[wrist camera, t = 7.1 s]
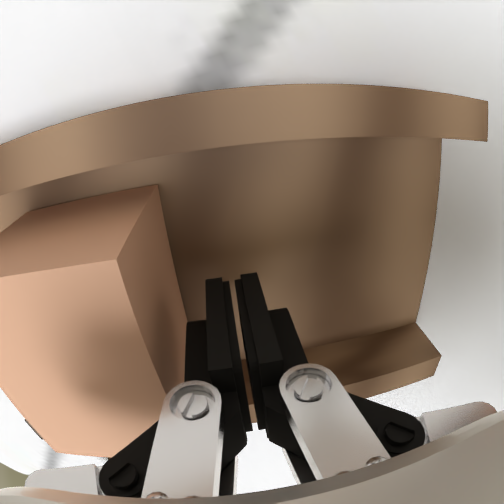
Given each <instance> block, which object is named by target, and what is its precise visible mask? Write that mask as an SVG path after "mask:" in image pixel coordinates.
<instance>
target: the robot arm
mask: <svg viewBox="0 0 504 504" xmlns="http://www.w3.org/2000/svg"><path fill="white" fill-rule="evenodd" d="M240 278H241V279H237V280H234V281H235V289H236V296H237V303H238V310H239V318H240V325H241V332H242V338H243V345H244V351H245V357H246V363H247V369H248V374H249V380H250V385H251V391H252V397H253V402H254V408H255V413H256V418H257V424H258V429H259V430H261V429H266V433H267V438H269V441H271V442H273V443H275V444H276V445H278V446H280V447H282V450H283V453H284V456H285V458H286V460H287V462H288V465H289V467H290V469H291V471H292V474H293V476H294V478H295V480H296V482H297V485H294V486H289V487H284V488H278V489H272V490H266V491H259V492H252V493H245V494H236V491H237V470H238V456H237V454H238V453H239V452H240V451H241V450H242V449H243V448H244V447H245V446H246V445H247V436H246V432H248V431H253V428H252V423H251V417H250V411H249V405H248V399H247V393H246V387H245V381H244V374H243V368H242V362H241V356H240V349H239V343H238V336H237V330H236V324H235V317H234V310H233V304H232V297H231V290H230V284H229V281H223V280H222V277H219V278H212V279H206V280H205V292H206V319H205V320H197V321H189V322H187V324H186V344H185V374H184V383H181V384H178V385H177V386H175V387H174V388H172V389H171V390H170V391H169V392H168V393H167V395H166V397H165V399H164V402H163V406H162V410H161V414H160V418H159V420H158V421H157V422H156V423H155V424H153V425H152V426H151V427H150V428H148V429H147V430H146V431H145V432H143V433H142V434H141V435H140V436H138V437H137V438H136V439H135V440H133V441H132V442H131V443H130V444H128V445H127V446H126V447H125V448H123V449H122V450H121V451H119V452H118V453H117V454H116V455H114V456H113V457H112V458H110V459H109V460H108V461H107V462H106V463H105V464H104V465H103V466H99V467H97V466H96V465H95V464H90V465H83V466H75V467H65V468H54V469H41V470H37V471H34V472H33V473H31V474H30V475H29V476H28V478H27V480H26V482H25V487H11V488H3V489H0V504H504V410H503V411H499V412H497V411H496V410H495V408H494V407H493V406H491V405H490V404H488V403H485V402H473V403H469V404H465V405H461V406H456V407H451V408H446V409H441V410H436V411H431V412H425V413H422V415H421V416H420V417H414V416H412V415H410V414H408V413H405V412H402V411H399V410H396V409H393V408H390V407H387V406H384V405H381V404H378V403H376V402H373V401H370V400H367V399H365V398H362V397H359V396H356V395H354V394H351V393H348V392H346V390H345V389H344V387H343V386H342V384H341V383H340V381H339V380H338V379H337V377H336V376H335V374H334V373H333V372H332V371H331V370H330V369H328V368H326V367H324V366H322V365H318V364H309V363H308V360H307V358H306V355H305V352H304V350H303V347H302V344H301V342H300V339H299V337H298V334H297V331H296V329H295V326H294V323H293V321H292V318H291V316H290V313H289V311H288V309H287V308H280V309H274V310H268V308H267V304H266V301H265V297H264V294H263V291H262V287H261V284H260V281H259V277H258V274H257V272H255V273H248V274H241V275H240Z"/></svg>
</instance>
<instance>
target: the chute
mask: <svg viewBox="0 0 504 504" xmlns="http://www.w3.org/2000/svg"><path fill="white" fill-rule="evenodd" d="M487 137H488V101H484V100H479V99H474V98H469V97H464V96H458V95H452V94H446V93H440V92H433V91H425V90H417V89H409V88H399V87H387V86H374V85H354V84H285V85H265V86H251V87H239V88H229V89H220V90H211V91H204V92H196V93H189V94H183V95H177V96H171V97H165V98H159V99H154V100H149V101H144V102H139V103H134V104H130V105H125V106H121V107H117V108H113V109H109V110H105V111H101V112H97V113H93V114H90V115H86V116H82V117H79V118H75V119H72V120H69V121H66V122H62V123H59V124H56V125H53V126H50V127H47V128H44V129H41V130H38V131H35V132H33V133H30V134H27V135H24V136H22V137H19V138H16V139H14V140H11V141H9V142H6V143H4V144H1V145H0V233H1V232H2V231H3V230H5V229H6V228H7V227H8V226H10V225H11V224H12V223H13V222H15V221H16V220H17V219H18V218H20V217H21V216H22V215H24V214H25V213H26V212H30V211H33V210H37V209H41V208H45V207H50V206H54V205H58V204H62V203H66V202H71V201H75V200H80V199H84V198H89V197H94V196H98V195H103V194H108V193H113V192H118V191H124V190H129V189H134V188H140V187H145V186H151V185H157V184H158V190H159V195H160V200H161V206H162V211H163V216H164V221H165V226H166V231H167V236H168V241H169V245H170V250H171V254H172V259H173V263H174V268H175V272H176V277H177V281H178V285H179V289H180V293H181V297H182V301H183V305H184V309H185V313H186V317H187V321H188V322H189V321H197V320H205V319H206V292H205V280H206V279H212V278H219V277H222V280H223V281H229V284H230V290H231V297H232V304H233V310H234V317H235V324H236V330H237V336H238V343H239V349H240V356H241V362H242V368H243V374H244V381H245V387H246V393H247V399H248V405H249V411H250V417H251V423H256V422H257V418H256V413H255V408H254V402H253V397H252V391H251V385H250V380H249V374H248V369H247V363H246V357H245V351H244V345H243V338H242V332H241V325H240V318H239V310H238V303H237V296H236V289H235V281H234V280H237V279H241V278H240V275H241V274H248V273H255V272H257V274H258V277H259V281H260V284H261V287H262V291H263V294H264V297H265V301H266V304H267V308H268V310H274V309H280V308H287V309H288V311H289V313H290V316H291V318H292V321H293V323H294V326H295V329H296V331H297V334H298V337H299V339H300V342H301V344H302V347H303V350H304V352H305V355H306V358H307V360H308V363H309V364H318V365H322V366H324V367H326V368H328V369H330V370H331V371H332V372H333V373H334V374H335V376H336V377H337V379H338V380H339V381H340V383H341V384H342V386H343V387H344V389H345V390H346V392H348V393H351V394H354V395H356V396H359V397H362V398H368V397H372V396H375V395H378V394H382V393H385V392H388V391H391V390H394V389H397V388H400V387H403V386H406V385H409V384H412V383H415V382H417V381H420V380H423V379H426V378H428V377H431V376H433V375H434V373H435V371H436V368H437V366H438V363H439V361H440V358H441V354H440V353H439V352H438V350H437V349H436V348H435V347H434V345H433V344H432V343H431V341H430V340H429V339H428V338H427V336H426V335H425V334H424V332H423V331H422V330H421V329H420V327H419V326H418V325H417V324H416V319H417V315H418V311H419V306H420V302H421V298H422V293H423V289H424V284H425V279H426V274H427V269H428V264H429V258H430V252H431V246H432V240H433V233H434V226H435V219H436V210H437V201H438V192H439V180H440V166H441V145H442V138H446V139H461V140H474V141H485V142H487ZM25 421H26V422H27V424H28V425H29V426H30V427H31V428H32V429H33V430H34V432H35V433H36V434H37V435H38V436H39V437H40V438H41V439H43V438H42V437H41V436H40V435H39V434H38V433H37V431H36V430H35V429H34V428H33V427H32V426H31V425H30V424H29V422H28V421H27V420H26V419H25Z"/></svg>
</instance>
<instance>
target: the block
mask: <svg viewBox="0 0 504 504" xmlns="http://www.w3.org/2000/svg"><path fill="white" fill-rule="evenodd" d="M187 322H188V321H187V317H186V313H185V309H184V305H183V301H182V297H181V293H180V289H179V285H178V281H177V277H176V272H175V268H174V263H173V259H172V254H171V250H170V245H169V241H168V236H167V231H166V226H165V221H164V216H163V211H162V206H161V200H160V195H159V190H158V184H157V185H151V186H145V187H140V188H134V189H129V190H124V191H118V192H113V193H108V194H103V195H98V196H94V197H89V198H84V199H80V200H75V201H71V202H66V203H62V204H58V205H54V206H50V207H45V208H41V209H37V210H33V211H30V212H26V213H25V214H24V215H22V216H21V217H20V218H18V219H17V220H16V221H15V222H13V223H12V224H11V225H10V226H8V227H7V228H6V229H5V230H3V231H2V232H1V233H0V387H1V389H2V390H3V391H4V393H5V394H6V395H7V397H8V398H9V399H10V401H11V402H12V403H13V404H14V406H15V407H16V408H17V409H18V411H19V412H20V413H21V414H22V415H23V417H24V418H25V419H26V420H27V421H28V422H29V424H30V425H31V426H32V427H33V428H34V429H35V430H36V431H37V433H38V434H39V435H40V436H41V437H42V438H43V439H44V440H45V441H46V442H47V443H48V444H49V445H50V446H51V447H52V448H53V449H54V451H55V452H58V453H66V454H74V455H84V456H96V457H113V456H114V455H116V454H117V453H118V452H119V451H121V450H122V449H123V448H125V447H126V446H127V445H128V444H130V443H131V442H132V441H133V440H135V439H136V438H137V437H138V436H140V435H141V434H142V433H143V432H145V431H146V430H147V429H148V428H150V427H151V426H152V425H153V424H155V423H156V422H157V421H158V420H159V418H160V414H161V410H162V406H163V402H164V399H165V397H166V395H167V393H168V392H169V391H170V390H171V389H172V388H174V387H175V386H177V385H178V384H181V383H184V374H185V344H186V324H187Z"/></svg>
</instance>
